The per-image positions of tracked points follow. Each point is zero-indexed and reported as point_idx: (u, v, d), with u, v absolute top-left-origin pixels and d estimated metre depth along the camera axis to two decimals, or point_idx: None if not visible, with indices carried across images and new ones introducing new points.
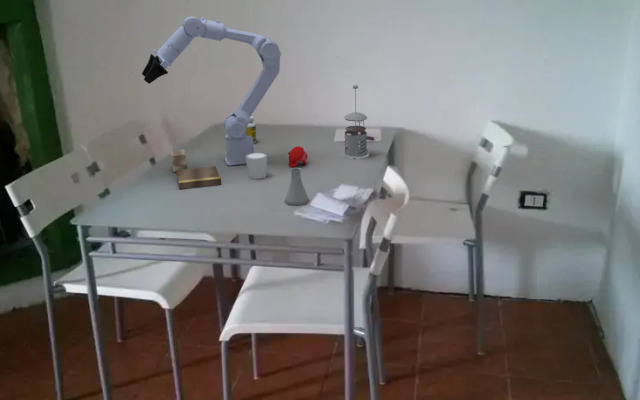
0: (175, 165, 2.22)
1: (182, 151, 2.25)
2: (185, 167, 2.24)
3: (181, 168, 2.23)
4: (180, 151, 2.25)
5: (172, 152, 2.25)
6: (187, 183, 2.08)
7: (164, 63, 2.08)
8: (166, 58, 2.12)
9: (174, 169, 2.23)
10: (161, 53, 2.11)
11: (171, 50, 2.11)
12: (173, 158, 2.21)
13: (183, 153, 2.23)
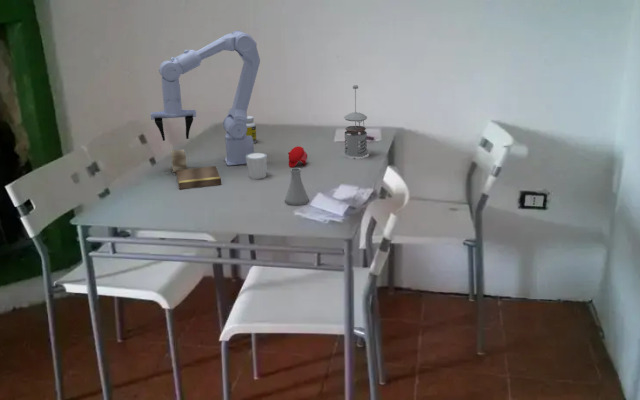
0: (175, 165, 2.22)
1: (182, 151, 2.25)
2: (185, 167, 2.24)
3: (181, 168, 2.23)
4: (180, 151, 2.25)
5: (172, 152, 2.25)
6: (187, 183, 2.08)
7: (195, 113, 2.20)
8: (181, 109, 2.19)
9: (174, 169, 2.23)
10: (179, 111, 2.17)
11: None
12: (173, 158, 2.21)
13: (183, 153, 2.23)
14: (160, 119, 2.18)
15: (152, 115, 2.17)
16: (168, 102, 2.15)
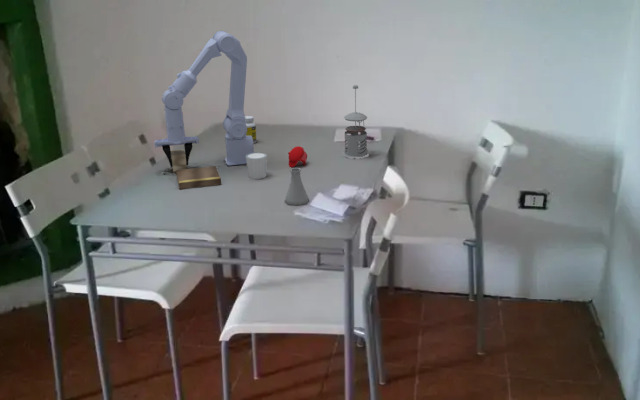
0: (175, 165, 2.22)
1: (182, 151, 2.25)
2: (185, 167, 2.23)
3: (181, 168, 2.23)
4: (179, 151, 2.25)
5: (172, 152, 2.25)
6: (187, 183, 2.08)
7: (198, 139, 2.24)
8: (184, 137, 2.23)
9: (174, 169, 2.23)
10: (182, 138, 2.21)
11: None
12: (173, 158, 2.21)
13: (183, 153, 2.23)
14: (164, 147, 2.21)
15: (156, 143, 2.20)
16: (171, 130, 2.18)
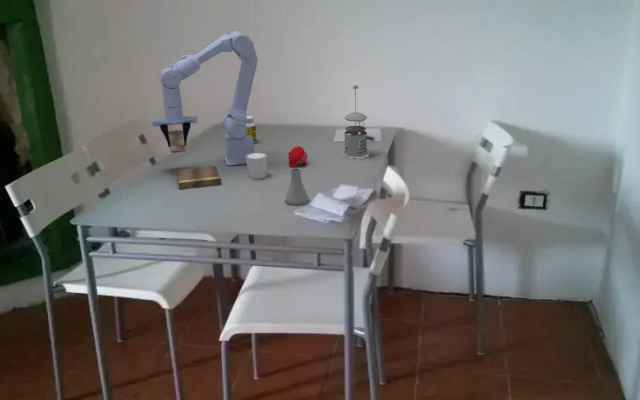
0: (173, 145, 2.20)
1: (180, 131, 2.23)
2: (183, 147, 2.21)
3: (179, 148, 2.21)
4: (177, 131, 2.23)
5: (170, 132, 2.22)
6: (187, 183, 2.08)
7: (196, 119, 2.21)
8: (182, 116, 2.20)
9: (172, 149, 2.20)
10: (180, 118, 2.18)
11: None
12: (171, 137, 2.19)
13: (181, 133, 2.21)
14: (161, 126, 2.19)
15: (153, 122, 2.18)
16: (169, 109, 2.16)
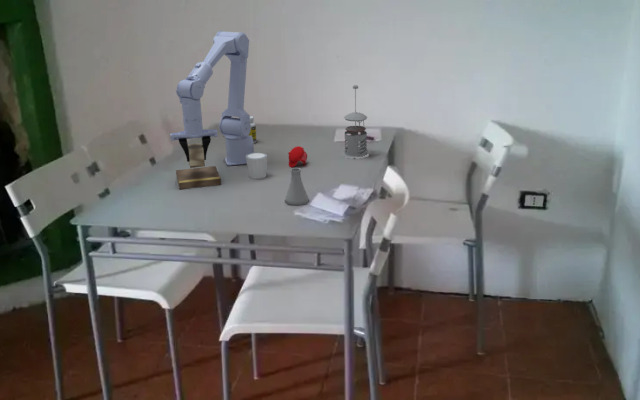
0: (192, 159, 2.10)
1: (199, 144, 2.13)
2: (203, 161, 2.11)
3: (198, 162, 2.11)
4: (197, 145, 2.13)
5: (189, 145, 2.12)
6: (187, 183, 2.08)
7: None
8: (202, 129, 2.10)
9: (191, 163, 2.10)
10: (200, 131, 2.08)
11: None
12: (190, 152, 2.09)
13: (201, 146, 2.11)
14: (180, 140, 2.09)
15: (172, 136, 2.08)
16: (189, 122, 2.06)
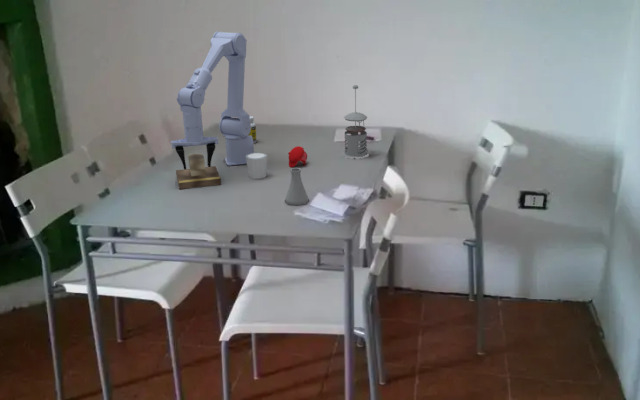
0: (193, 169, 2.11)
1: (200, 155, 2.14)
2: (204, 171, 2.12)
3: (199, 172, 2.12)
4: (198, 155, 2.14)
5: (190, 156, 2.13)
6: (187, 183, 2.08)
7: None
8: (203, 137, 2.11)
9: (192, 174, 2.12)
10: (201, 139, 2.09)
11: (202, 128, 2.10)
12: (191, 162, 2.10)
13: (201, 157, 2.12)
14: (181, 147, 2.10)
15: (173, 144, 2.08)
16: (190, 130, 2.07)
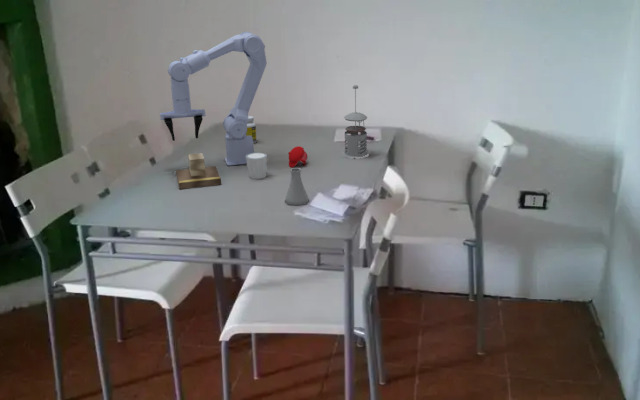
0: (193, 169, 2.11)
1: (200, 155, 2.14)
2: (204, 171, 2.12)
3: (199, 172, 2.12)
4: (198, 155, 2.14)
5: (190, 156, 2.13)
6: (187, 183, 2.08)
7: None
8: None
9: (192, 174, 2.12)
10: (188, 111, 2.19)
11: None
12: (191, 162, 2.10)
13: (201, 157, 2.12)
14: (170, 119, 2.19)
15: (162, 115, 2.18)
16: (178, 102, 2.16)
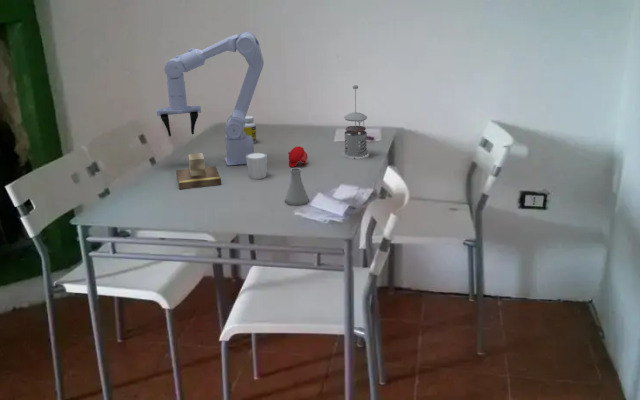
0: (193, 169, 2.11)
1: (200, 155, 2.14)
2: (204, 171, 2.12)
3: (199, 172, 2.12)
4: (198, 155, 2.14)
5: (190, 156, 2.13)
6: (187, 183, 2.08)
7: (200, 108, 2.27)
8: (186, 106, 2.25)
9: (192, 174, 2.12)
10: (184, 107, 2.23)
11: None
12: (191, 162, 2.10)
13: (201, 157, 2.12)
14: (166, 115, 2.24)
15: (158, 112, 2.23)
16: (174, 99, 2.21)
